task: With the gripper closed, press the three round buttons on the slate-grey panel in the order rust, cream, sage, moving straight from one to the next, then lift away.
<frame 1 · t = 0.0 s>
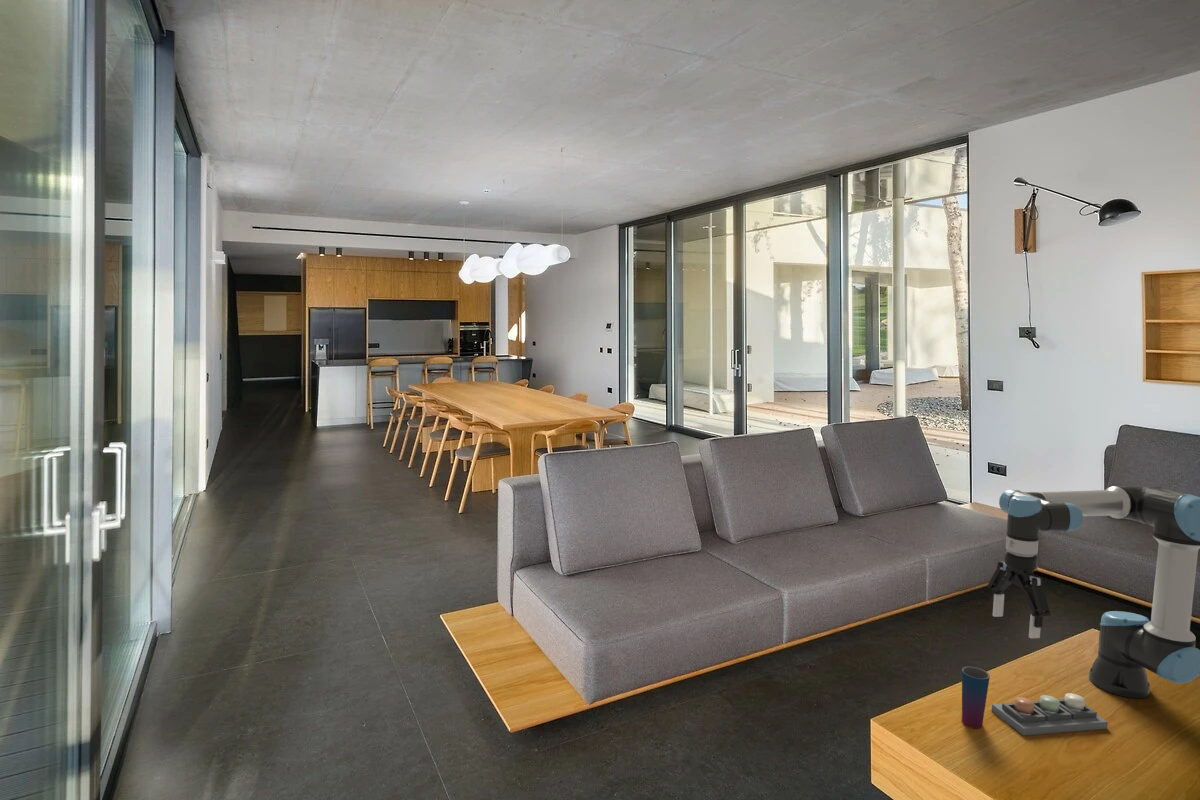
hand: (1015, 626, 187), 28 cm above the table, fingers open, 13 cm apart
cup: (971, 723, 189), on the table
button cream: (1074, 701, 191), point 5 cm above the table, slide at 0.0 cm
panel: (1048, 719, 191), on the table
button rust: (1024, 705, 189), point 5 cm above the table, slide at 0.0 cm
button sage: (1049, 703, 190), point 5 cm above the table, slide at 0.0 cm
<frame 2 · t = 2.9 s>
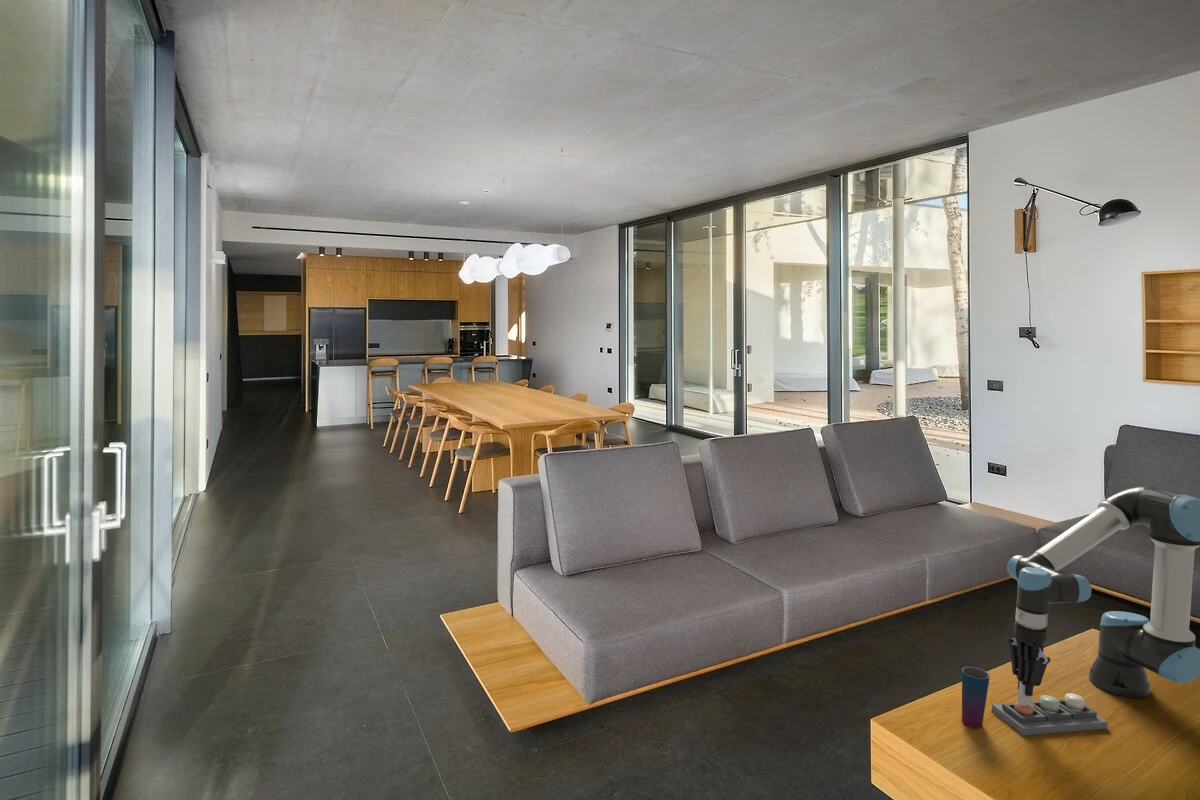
hand: (1023, 704, 189), 5 cm above the table, fingers closed
button rust: (1023, 709, 189), point 4 cm above the table, slide at 1.1 cm, touching gripper
everything else where it was.
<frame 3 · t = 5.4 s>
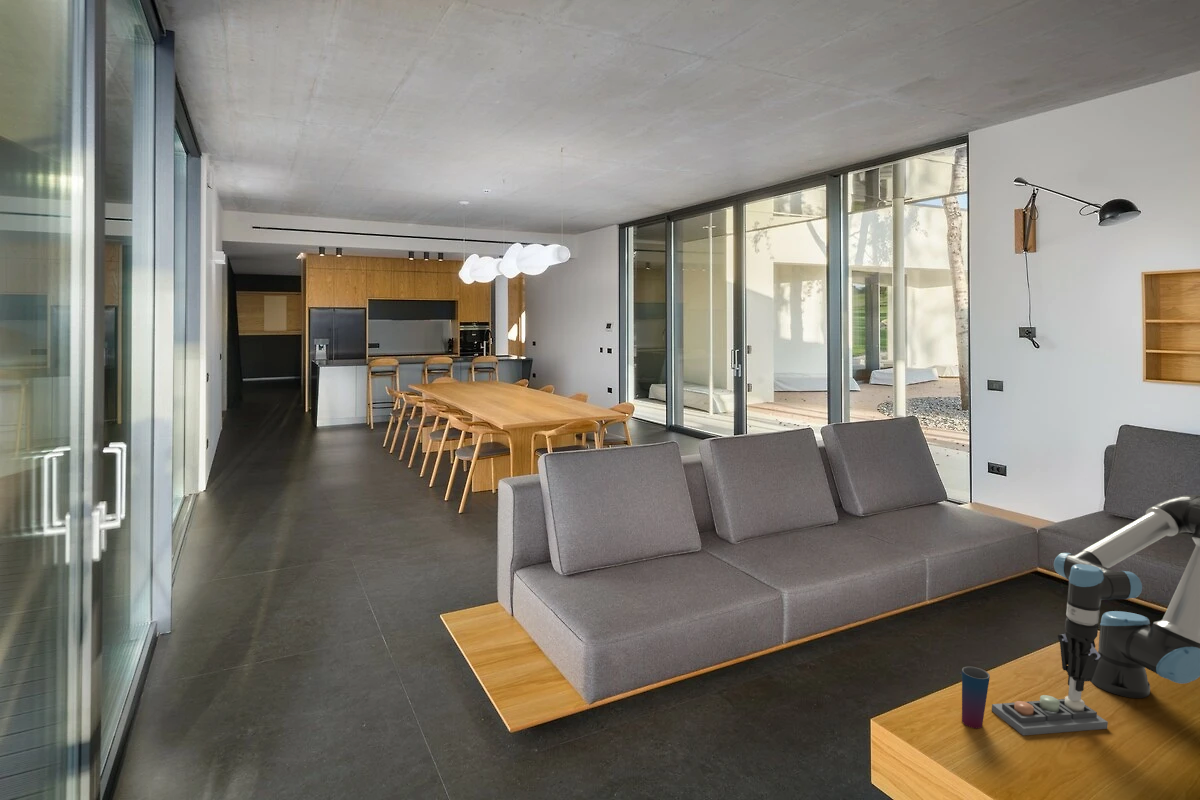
hand: (1074, 699, 191), 5 cm above the table, fingers closed
button cream: (1074, 704, 192), point 4 cm above the table, slide at 0.8 cm, touching gripper
button rust: (1023, 709, 189), point 4 cm above the table, slide at 1.2 cm
everything else where it was.
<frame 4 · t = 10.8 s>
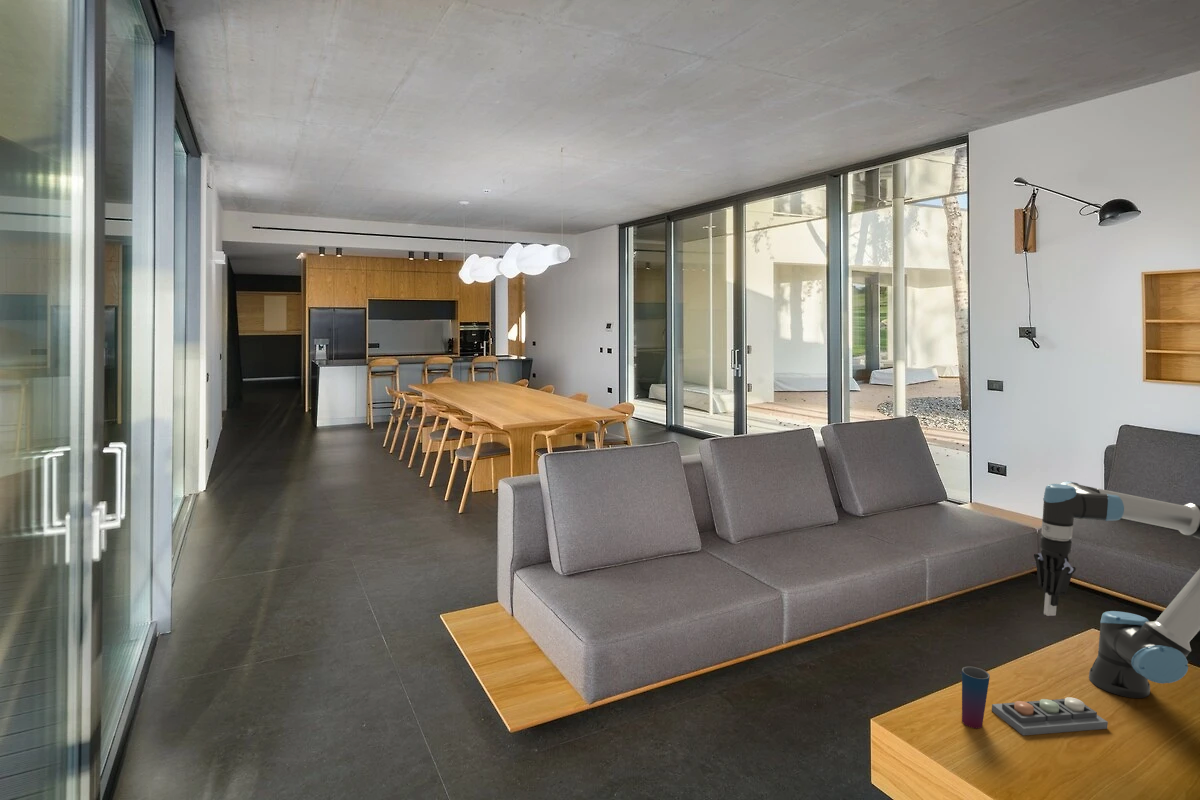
hand: (1049, 614, 199), 26 cm above the table, fingers closed
button cream: (1074, 705, 192), point 4 cm above the table, slide at 1.2 cm
button sage: (1049, 707, 190), point 4 cm above the table, slide at 1.2 cm
everything else where it was.
at the end: button rust slide at 1.2 cm; button cream slide at 1.2 cm; button sage slide at 1.2 cm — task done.
